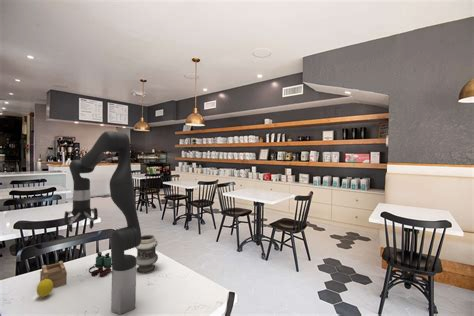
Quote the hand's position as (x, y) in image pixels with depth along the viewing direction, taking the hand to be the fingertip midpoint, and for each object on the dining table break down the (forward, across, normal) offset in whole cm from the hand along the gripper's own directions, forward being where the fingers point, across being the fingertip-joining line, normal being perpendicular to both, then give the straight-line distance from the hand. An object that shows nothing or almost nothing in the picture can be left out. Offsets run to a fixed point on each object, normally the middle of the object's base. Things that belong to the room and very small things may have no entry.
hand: (81, 229), depth 119 cm
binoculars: (+24, +8, -4) cm, 26 cm away
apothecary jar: (+24, +28, -14) cm, 40 cm away
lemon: (+24, -15, -10) cm, 30 cm away
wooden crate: (+24, -11, 0) cm, 26 cm away
